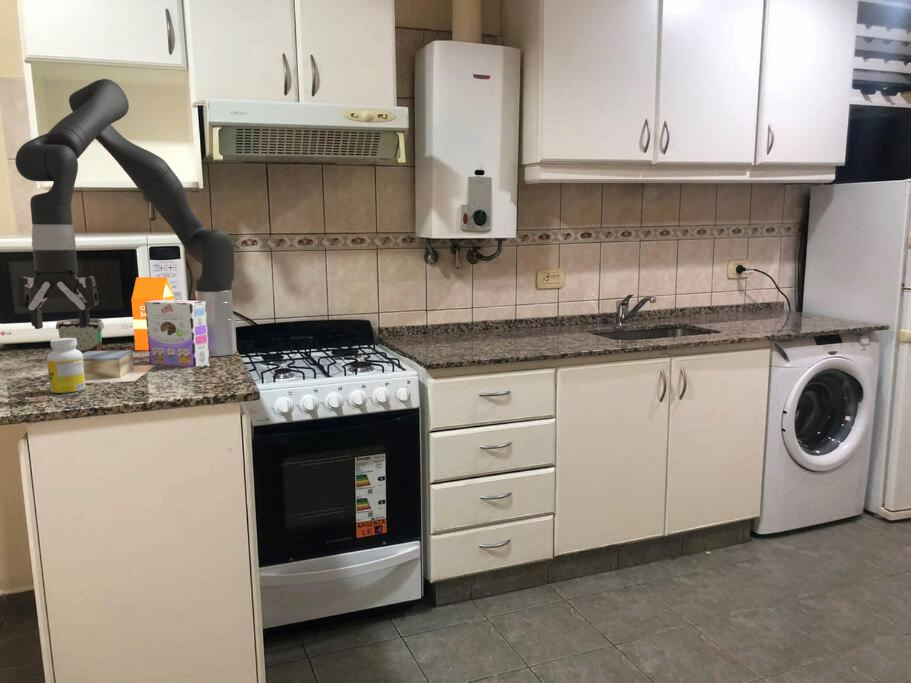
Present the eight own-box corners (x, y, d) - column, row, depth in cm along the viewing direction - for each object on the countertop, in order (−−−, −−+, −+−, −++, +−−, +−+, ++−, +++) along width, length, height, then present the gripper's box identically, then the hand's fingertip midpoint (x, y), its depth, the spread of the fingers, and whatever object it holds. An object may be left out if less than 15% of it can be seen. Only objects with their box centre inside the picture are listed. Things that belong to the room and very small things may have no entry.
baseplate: (156, 369, 173) (156, 365, 173) (134, 385, 155) (134, 381, 155) (77, 371, 170) (77, 367, 170) (46, 388, 153) (45, 383, 153)
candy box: (210, 366, 176) (207, 300, 174) (195, 371, 171) (190, 302, 168) (165, 363, 181) (161, 298, 178) (148, 367, 175) (143, 300, 172)
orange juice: (166, 350, 199) (161, 278, 196) (134, 350, 199) (129, 278, 196) (177, 345, 207) (172, 276, 204) (147, 345, 207) (142, 276, 204)
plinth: (133, 368, 168) (132, 350, 168) (120, 377, 159) (119, 357, 158) (88, 370, 167) (87, 351, 166) (72, 379, 157) (70, 359, 156)
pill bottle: (59, 391, 150) (54, 337, 148) (91, 391, 151) (86, 336, 149) (44, 399, 144) (38, 342, 142) (77, 398, 144) (72, 341, 142)
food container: (116, 355, 191) (113, 318, 189) (103, 359, 185) (100, 321, 183) (73, 354, 192) (69, 318, 190) (58, 359, 186) (54, 321, 184)
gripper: (98, 247, 147) (104, 325, 149) (24, 247, 145) (31, 326, 147) (85, 248, 140) (91, 330, 142) (7, 248, 138) (14, 331, 140)
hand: (61, 328), depth 145 cm, fingers open, 8 cm apart
